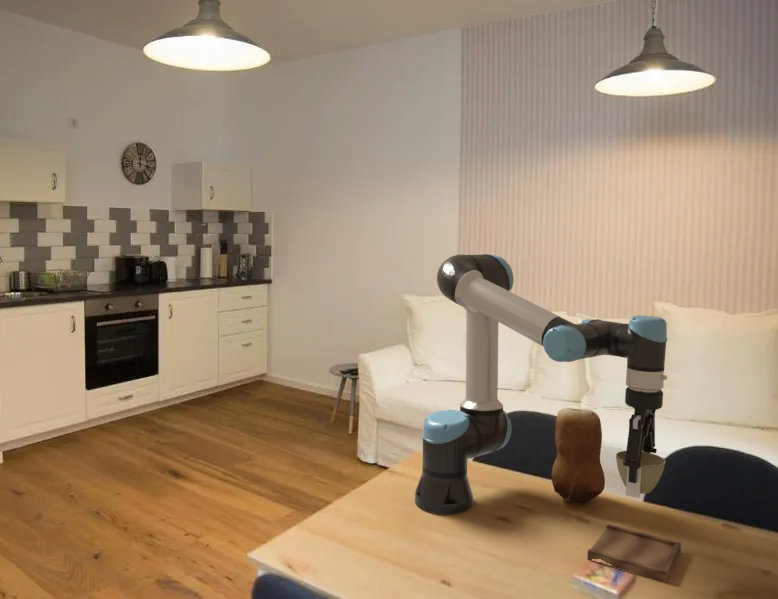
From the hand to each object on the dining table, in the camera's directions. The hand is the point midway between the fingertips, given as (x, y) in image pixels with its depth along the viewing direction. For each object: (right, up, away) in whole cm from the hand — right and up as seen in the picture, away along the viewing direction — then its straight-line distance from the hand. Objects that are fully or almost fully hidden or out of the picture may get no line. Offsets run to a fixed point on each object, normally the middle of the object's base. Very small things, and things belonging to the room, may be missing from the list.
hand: (638, 488), depth 141 cm
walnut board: (0, -15, +1) cm, 15 cm away
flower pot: (0, 0, 0) cm, 0 cm away
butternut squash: (-5, -13, +31) cm, 34 cm away
